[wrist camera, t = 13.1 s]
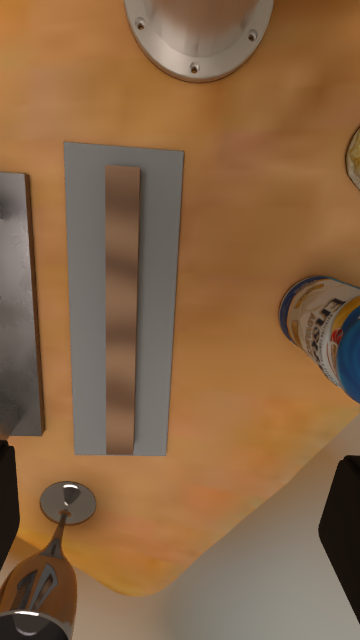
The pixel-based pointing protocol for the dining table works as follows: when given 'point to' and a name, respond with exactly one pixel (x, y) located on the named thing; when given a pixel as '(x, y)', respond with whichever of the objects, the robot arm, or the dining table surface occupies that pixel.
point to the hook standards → (18, 314)
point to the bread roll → (354, 159)
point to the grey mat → (153, 290)
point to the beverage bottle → (326, 328)
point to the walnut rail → (121, 304)
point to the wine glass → (46, 574)
